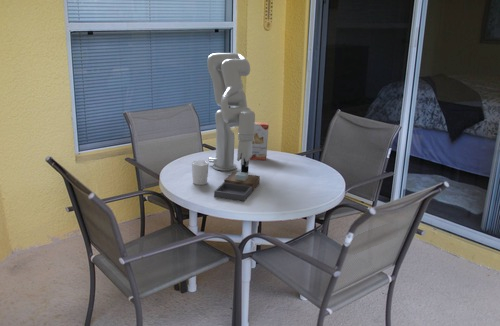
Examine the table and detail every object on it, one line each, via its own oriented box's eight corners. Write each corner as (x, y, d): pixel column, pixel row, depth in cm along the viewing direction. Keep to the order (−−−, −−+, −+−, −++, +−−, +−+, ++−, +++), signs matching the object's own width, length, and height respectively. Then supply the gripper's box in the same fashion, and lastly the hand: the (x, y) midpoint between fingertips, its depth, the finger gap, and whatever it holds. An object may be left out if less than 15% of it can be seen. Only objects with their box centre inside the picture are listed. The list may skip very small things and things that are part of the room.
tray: (214, 197, 220) (214, 190, 219) (223, 188, 231) (223, 182, 231) (244, 201, 216) (244, 195, 215) (252, 192, 228) (252, 186, 227)
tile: (234, 179, 232) (235, 174, 231) (238, 176, 237) (238, 171, 236) (245, 180, 231) (245, 176, 230) (248, 177, 235) (248, 172, 235)
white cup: (195, 186, 232) (195, 166, 229) (189, 181, 239) (189, 161, 236) (210, 184, 236) (211, 164, 233) (204, 179, 242) (204, 159, 239)
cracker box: (241, 159, 276) (243, 123, 270) (241, 156, 282) (243, 121, 275) (266, 160, 276) (268, 124, 270) (266, 157, 282) (268, 122, 276)
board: (224, 187, 232) (224, 179, 231) (232, 179, 243) (232, 172, 242) (252, 191, 228) (252, 183, 227) (259, 183, 240) (259, 176, 238)
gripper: (243, 132, 239) (241, 168, 245) (233, 139, 226) (232, 177, 231) (257, 134, 237) (256, 170, 243) (249, 141, 224) (247, 179, 229)
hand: (244, 173), depth 237 cm, fingers closed
